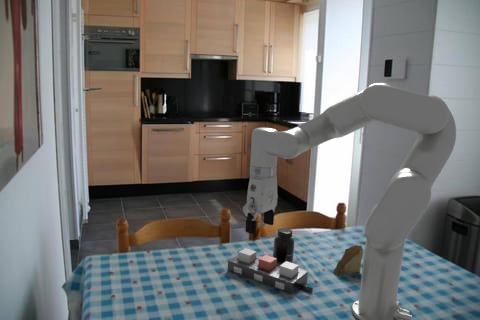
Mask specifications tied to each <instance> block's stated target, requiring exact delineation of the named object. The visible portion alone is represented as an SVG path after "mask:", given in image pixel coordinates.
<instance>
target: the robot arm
mask: <svg viewBox="0 0 480 320" xmlns="http://www.w3.org/2000/svg"><path fill="white" fill-rule="evenodd" d="M455 121H456V120H455V118H454V116H453V114H452V112H451V110H450V107H448V105H447V103H446V102H445V101H444V100H443V99H442V98H440V97H439V96H436V95H431V94H429V95H427V94H422V93H418V92H414V91H410V90H408V89H407V90H406V89H403V88H399V87H396V86H393V85H391V84H389V83H385V82H376V83H372V84H370V85H368V86H367V87H366V88H365V89H363V90H361V91H359V92H356V93H355V94H353V95H350V96H349V97H347V98H345V99H343V100H341V101H339V102H336V103H335V104H333V105H331V106H329V107H327V108H326V109H325V110H324V111H323V112H322V113H320V114H319V115H316V116H315V117H314V118H312V119H309V120H307V121H305V122H304V123H302V124H300V125H297V126H295V127H292V128H290V129H287V130H284V131H278V130H277V129H275V128H271V127H256V128H254V129H253V130H252V132H251V142H250V143H251V144H250V145H251V147H250V160H249V161H250V165H249V181H248V187H247V195H246V203H245V204H244V206H243V207H242V211H243V216H244V218H245V233H248V234H251V235H256V234H257V220H256V218H257V217H258V214H260V215H261V214H263V223H264V224H266V225H269V226H273V225H274V221H275V211H276V208H277V206H278V199H279V196H278V179H277V168H278V167H277V165H278V158H281V159H285V160H287V159H288V160H291V159H294V158H296V157H298V156H299V155H301V154H304V153H305V152H307V151H309V150H311V149H314V148H315V147H317V146H319V145H321V144H323V143H325V142H329V141H331V140H333V139H338V138H343V137H345V136H348V135H349V134H351V133H354V132H355V131H357V130H360V129H362V128H364V127H367V126H368V125H371V124H373V123H376V122H380V123H384V124H386V125H390V126H393V127H397V128H400V129H401V128H402V129H403V130H408V131H411V132H414V133H418V134H417V137H416V140H415V142H414V143H413V145H412V148H411V149H410V150H409V153H408V154H407V156H406V157H405V159H404V161H403V162H402V164H401V165H400V166H399V168H398V170H397V171H396V172H395V173H394V175H393V176H392V177H391V179H390V182H389V185H388V187H387V188H386V190H385V191H384V194H383V195H382V197H381V199H380V200H379V201H378V203H376V204H375V205H374V206H373V207H372V208H371V209H370V211H369V213H368V216H367V219H366V222H365V224H364V236H365V238H366V239H365V246H364V252H363V261H362V271H361V280H360V287H359V296H358V300H356V301H354V302H353V304H352V306H351V312H352V314H353V316H354V317H355V318H357V319H358V320H413V315H412V314H410V312H411V311H410V310H408V309H405V308H401V306H400V301H399V300H398V293H399V292H398V291H399V287H400V286H399V284H400V277H401V271H402V266H403V265H402V264H403V257H404V249H405V242H406V240H407V238H408V236H409V235H410V234H411V232H412V231H413V229H414V228H415V226H416V225H417V224H418V222H419V221H420V219H421V218H422V217H423V214H424V213H425V212H426V210H427V208H428V206H429V204H430V201H431V200H432V199H431V198H432V187H433V185H434V183H435V182H436V180H437V179H438V177H439V175H440V173H441V172H442V170H443V169H444V167H445V165H446V164H447V162H448V160H449V159H450V157H451V155H452V153H453V151H454V148H455V145H456V139H457V126H456V122H455ZM252 213H253V214H252Z"/></svg>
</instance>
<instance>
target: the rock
mask: <svg viewBox="0 0 480 320" xmlns="http://www.w3.org/2000/svg"><path fill="white" fill-rule="evenodd" d="M363 257H364V249H363V247H362V245H358V244H357V245H353V246H350V247H348V248H346V249H345V250H344V253H343V255H342V257H341V259H340V260H339V261H338V262H337V264H336V267H335V268H334V269H333V271H332V272H333V274H335V276H342V275H346V274H355V273H358V272H359V273H360V272H361V268H362V267H361V264H362V263H361V261H362V259H363Z"/></svg>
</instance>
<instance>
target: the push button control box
mask: <svg viewBox="0 0 480 320" xmlns="http://www.w3.org/2000/svg"><path fill="white" fill-rule="evenodd" d="M262 256H263V255H260V254H258V253H257V254H256V260H255V261H253V262H252V263H250V264H248V263H246V262H243V261H240V260H238V257H239V254H238V255H237V254H236V256H233V257H232V258H230V259H228V261H227V272H229V273H232V274H235V275H238V276H241V277H243V278H244V279H245V278H246V279H248V280H250V281H251V280H252V282H253V281H254V282H257V283H259V284H262V285H264V286H266V287H270V288H272V289H275V290H278V291H281V292H283V293H286V294H289V295H293V294H294V293H296V292H297V291H298V290H299V289H301V290H305V291H307V292H310V293H312V292H313V291H314V288H313V287H310V286H308V285H306V283H308V276H309V274H308V273H309V271H308V270H304V269H303V268H300V267H298V274H297V275H296V276H295V277H294V278H289V277H286V276H283V275H280V274H279V271H280V265H281V264H283V263H281V262H278V261H277V265H276V267H275V268H274V269H272V270H271V271H269V270H266V269H263V268H260V267H258V262H259V258H261V257H262Z"/></svg>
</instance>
